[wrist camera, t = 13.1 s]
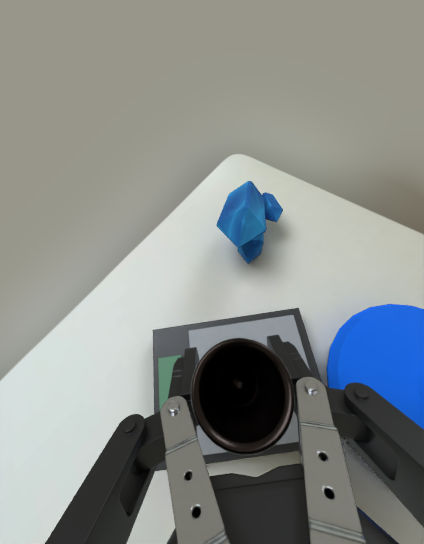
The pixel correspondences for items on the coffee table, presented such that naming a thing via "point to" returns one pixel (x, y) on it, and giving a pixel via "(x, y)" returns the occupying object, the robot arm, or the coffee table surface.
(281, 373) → the grey cylindrical tube
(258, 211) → the crystal
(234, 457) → the scale
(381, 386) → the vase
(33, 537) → the coffee table surface
